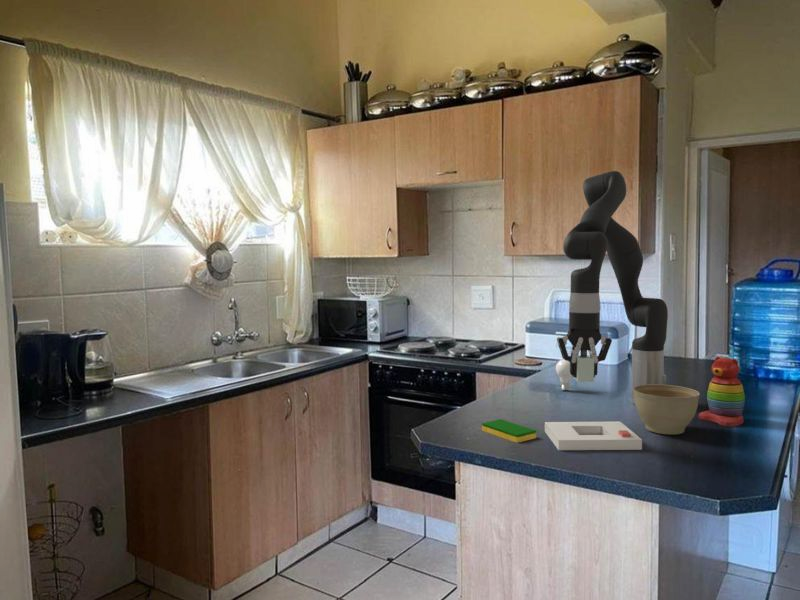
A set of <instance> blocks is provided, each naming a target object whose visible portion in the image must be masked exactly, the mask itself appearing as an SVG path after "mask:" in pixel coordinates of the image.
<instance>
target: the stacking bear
mask: <svg viewBox="0 0 800 600" xmlns="http://www.w3.org/2000/svg"><path fill="white" fill-rule="evenodd" d="M710 370H711V373H712V375H713V376H714V377H712V378H711V380H710V382H709V384H708V389H707V393H706V401H707V404H708V409H709V410H705V411H701V412H699V413H698V419H699V420H701V421H707V422H712V423H716V424H718V425H720V426H723V427H728V428H729V427H731V428H732V427H737V426H740V425H742V424H744V417H743V411H744V406H745V403H746V402H745V401H746V400H745V399H746V395H745V392H744V386H743V384H742V382H741V381H740V379H738V378H737V377H738V375H739V372H740V366H739V361H738V359H736V358H729V357H720V356H716V358H714V362H713V363H712V365H711V369H710Z"/></svg>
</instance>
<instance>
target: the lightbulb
mask: <svg viewBox="0 0 800 600" xmlns="http://www.w3.org/2000/svg"><path fill="white" fill-rule="evenodd" d="M555 371H556V373H557V376H558V377H559V381H560V384H561V385H560V387H561V390H562V391H564V392H567V391H569V390H570V382H571V378H572V375H571V374H570V362H569V361H566V360H565V359H563V358H562V359H560V360H558V362H557V363H556V365H555Z"/></svg>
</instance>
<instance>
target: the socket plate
mask: <svg viewBox="0 0 800 600" xmlns="http://www.w3.org/2000/svg"><path fill="white" fill-rule="evenodd" d="M544 433H545V434H546V435H547V436H548V438H549V439H550V440H551V442H552V443H553V445H554V446H555V447H556V449H557V451H608V450H609V451H618V450H619V451H632V450H633V451H635V450H636V451H637V450H639V451H640V450H641V451H642V450H643V439H642V438H641V437H640V436H639V435H637V434H636V433H635V432H634V431H633V430H631V429H630V428H629V427H628V426H626V425H625V424H624V423H622V421H620V420H619V421H545V422H544Z"/></svg>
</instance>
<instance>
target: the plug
mask: <svg viewBox="0 0 800 600" xmlns="http://www.w3.org/2000/svg"><path fill="white" fill-rule="evenodd" d="M576 363H577V376H576V378H574V377H573V378H572V379H574V380H575V381H576V382H578V383H586V382H587V383H594V382H595V381H594V380H595V378H594V358H593V357H591V356H590V354H588V350H580V353H579V355H578V357H577V360H576Z"/></svg>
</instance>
